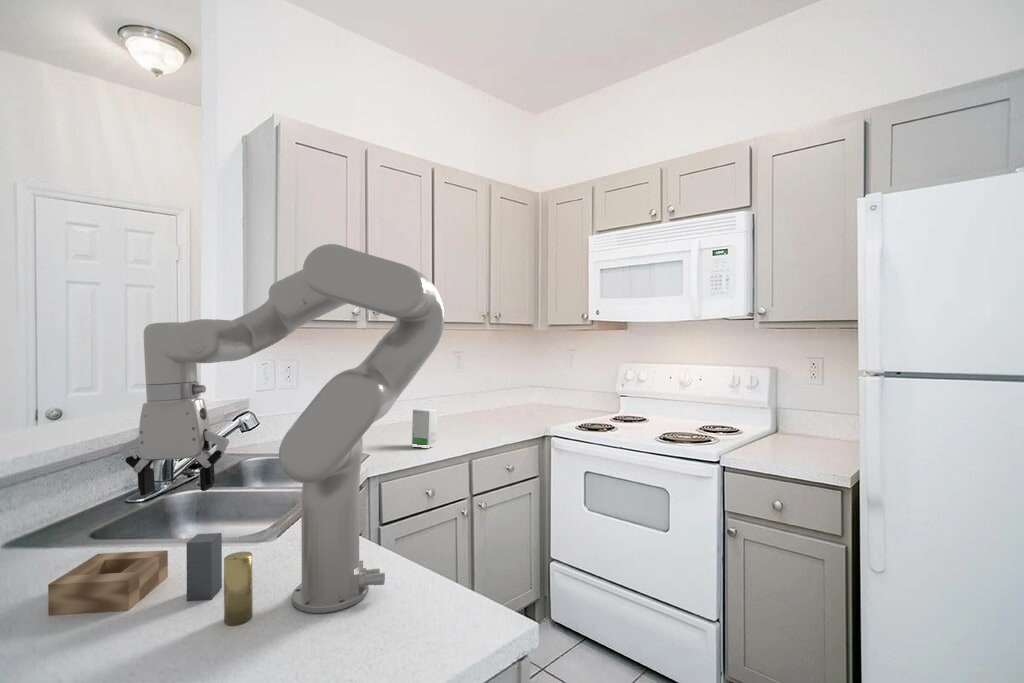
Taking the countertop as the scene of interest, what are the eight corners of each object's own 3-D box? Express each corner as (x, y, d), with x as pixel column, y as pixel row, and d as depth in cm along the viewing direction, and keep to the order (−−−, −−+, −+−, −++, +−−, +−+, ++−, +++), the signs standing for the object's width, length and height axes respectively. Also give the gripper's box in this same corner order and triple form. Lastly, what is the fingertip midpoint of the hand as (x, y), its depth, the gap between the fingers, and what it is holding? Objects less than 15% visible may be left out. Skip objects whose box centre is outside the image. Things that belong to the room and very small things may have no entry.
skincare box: (411, 447, 210) (411, 409, 210) (420, 444, 216) (420, 407, 216) (429, 449, 207) (429, 410, 207) (437, 446, 213) (437, 408, 213)
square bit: (221, 588, 92) (221, 532, 92) (211, 599, 88) (211, 541, 88) (198, 589, 92) (197, 534, 92) (186, 601, 88) (186, 542, 88)
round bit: (256, 611, 85) (256, 550, 85) (246, 625, 81) (246, 561, 81) (230, 613, 84) (230, 552, 84) (219, 626, 80) (219, 562, 80)
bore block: (167, 576, 97) (167, 550, 97) (128, 610, 85) (128, 580, 85) (98, 580, 95) (97, 553, 95) (48, 615, 83) (48, 584, 83)
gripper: (234, 388, 95) (238, 481, 95) (132, 393, 93) (136, 488, 93) (215, 392, 87) (220, 493, 87) (104, 398, 85) (109, 501, 85)
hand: (177, 491), depth 90 cm, fingers open, 9 cm apart
